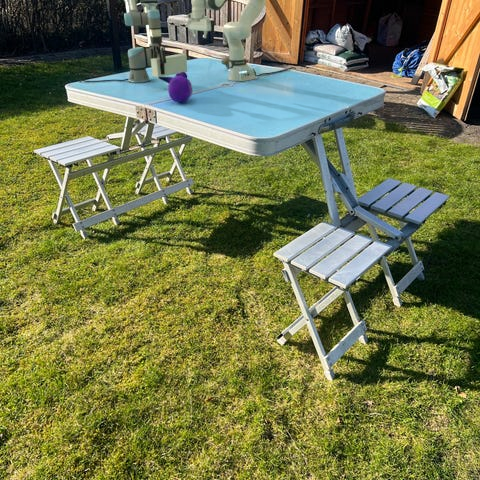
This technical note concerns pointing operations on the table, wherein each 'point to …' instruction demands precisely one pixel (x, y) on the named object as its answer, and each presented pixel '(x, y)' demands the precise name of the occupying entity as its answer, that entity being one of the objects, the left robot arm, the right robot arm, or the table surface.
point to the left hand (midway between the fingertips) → (159, 73)
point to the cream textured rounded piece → (226, 62)
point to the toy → (178, 87)
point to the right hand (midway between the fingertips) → (200, 37)
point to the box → (169, 65)
